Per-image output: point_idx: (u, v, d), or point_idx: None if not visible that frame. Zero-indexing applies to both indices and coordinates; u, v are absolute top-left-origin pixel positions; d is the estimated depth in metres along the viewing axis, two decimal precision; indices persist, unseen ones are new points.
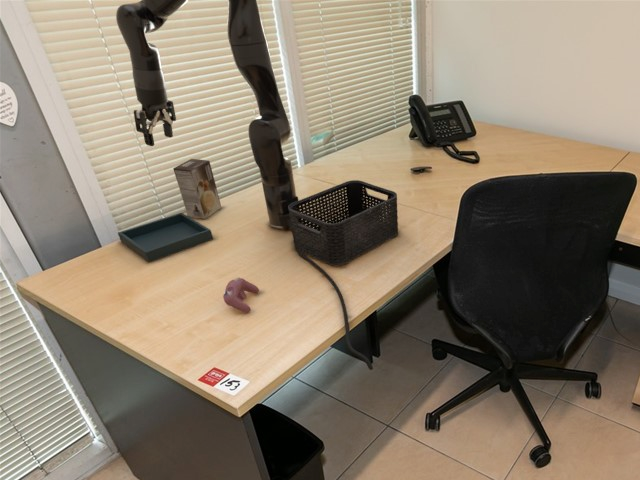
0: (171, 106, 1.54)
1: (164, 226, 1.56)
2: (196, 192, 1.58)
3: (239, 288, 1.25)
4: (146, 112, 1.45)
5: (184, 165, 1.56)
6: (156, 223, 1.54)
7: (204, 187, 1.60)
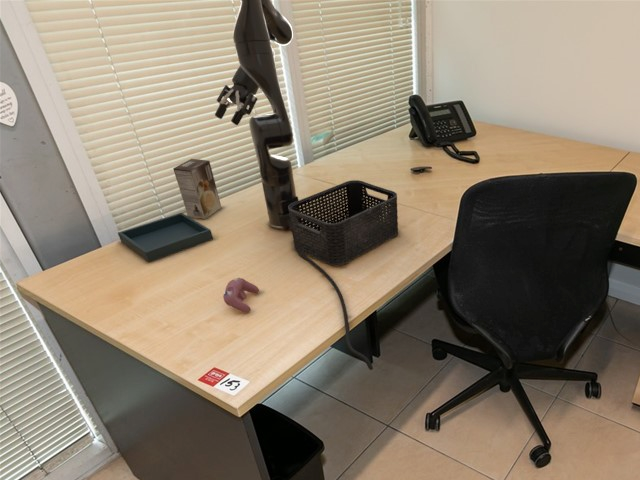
0: (248, 96, 1.57)
1: (164, 226, 1.56)
2: (196, 192, 1.58)
3: (239, 288, 1.25)
4: None
5: (184, 165, 1.56)
6: (156, 223, 1.54)
7: (203, 187, 1.60)
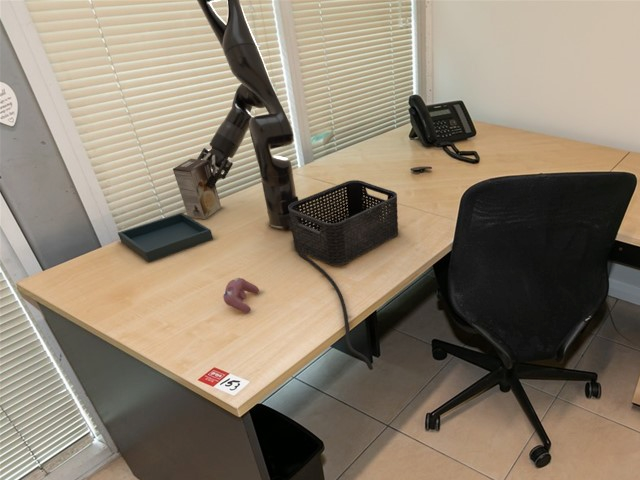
0: (223, 162, 1.59)
1: (164, 226, 1.56)
2: (195, 192, 1.58)
3: (239, 288, 1.25)
4: None
5: (183, 166, 1.56)
6: (156, 223, 1.54)
7: (203, 187, 1.60)
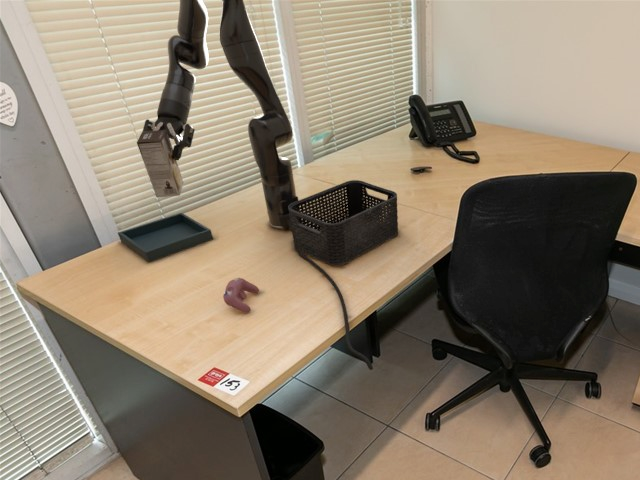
0: (185, 128, 1.46)
1: (164, 226, 1.56)
2: (168, 166, 1.42)
3: (239, 288, 1.25)
4: (155, 123, 1.48)
5: (145, 138, 1.39)
6: (156, 223, 1.54)
7: (171, 159, 1.45)
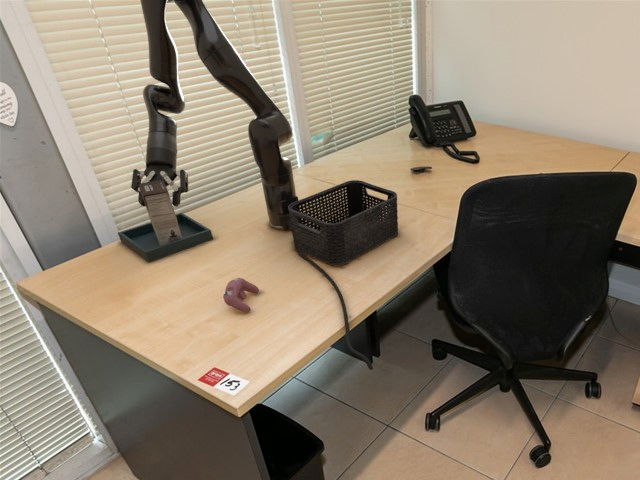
0: (180, 174, 1.47)
1: None
2: (173, 215, 1.44)
3: (239, 288, 1.25)
4: (144, 172, 1.47)
5: (148, 190, 1.39)
6: None
7: None
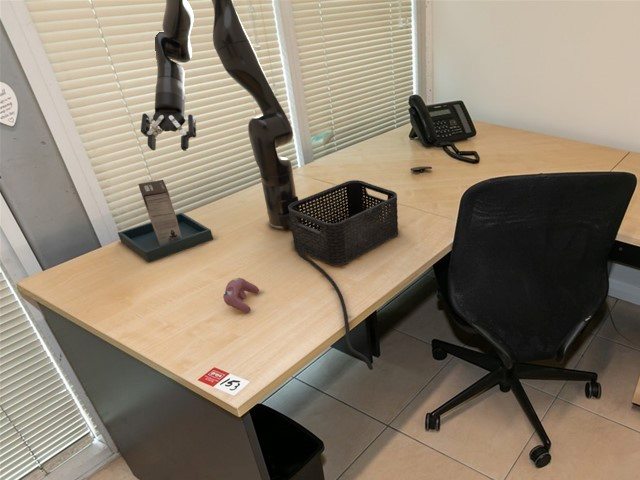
0: (189, 119, 1.51)
1: None
2: (173, 215, 1.44)
3: (239, 288, 1.25)
4: (153, 117, 1.50)
5: (148, 190, 1.39)
6: None
7: None
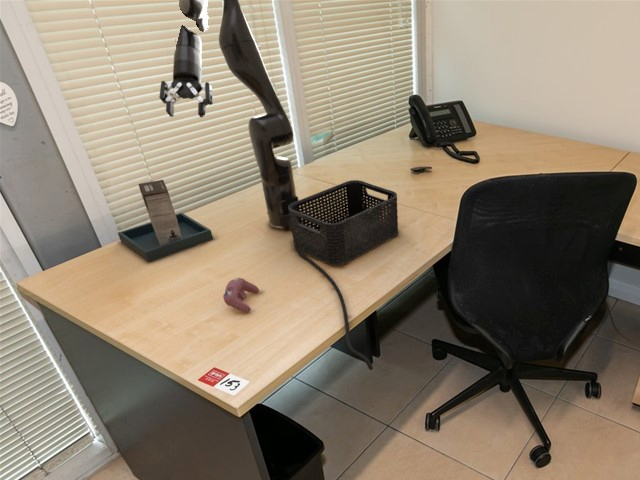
0: (205, 86, 1.56)
1: None
2: (173, 215, 1.44)
3: (239, 288, 1.25)
4: (171, 84, 1.55)
5: (148, 190, 1.39)
6: None
7: None
